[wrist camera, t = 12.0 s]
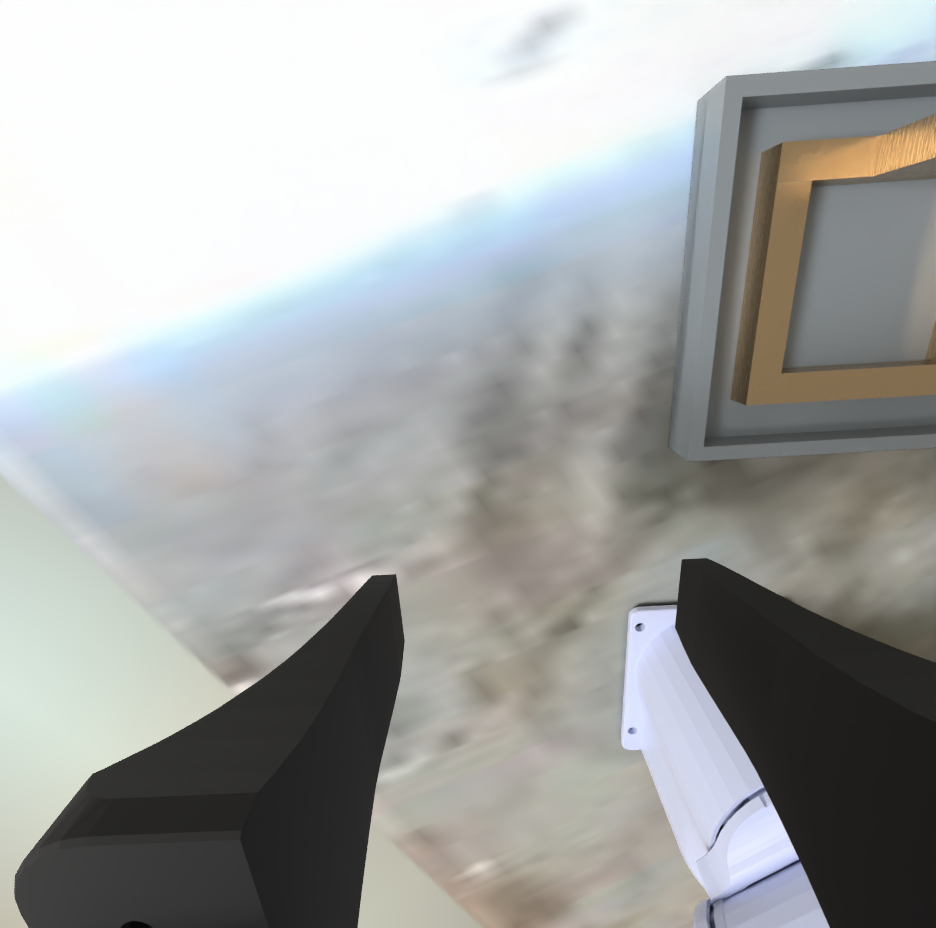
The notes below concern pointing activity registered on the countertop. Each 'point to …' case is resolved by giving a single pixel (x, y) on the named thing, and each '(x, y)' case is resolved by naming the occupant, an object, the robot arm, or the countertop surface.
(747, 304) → the wooden frame with post
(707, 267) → the tray
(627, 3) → the countertop surface
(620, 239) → the countertop surface
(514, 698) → the countertop surface
